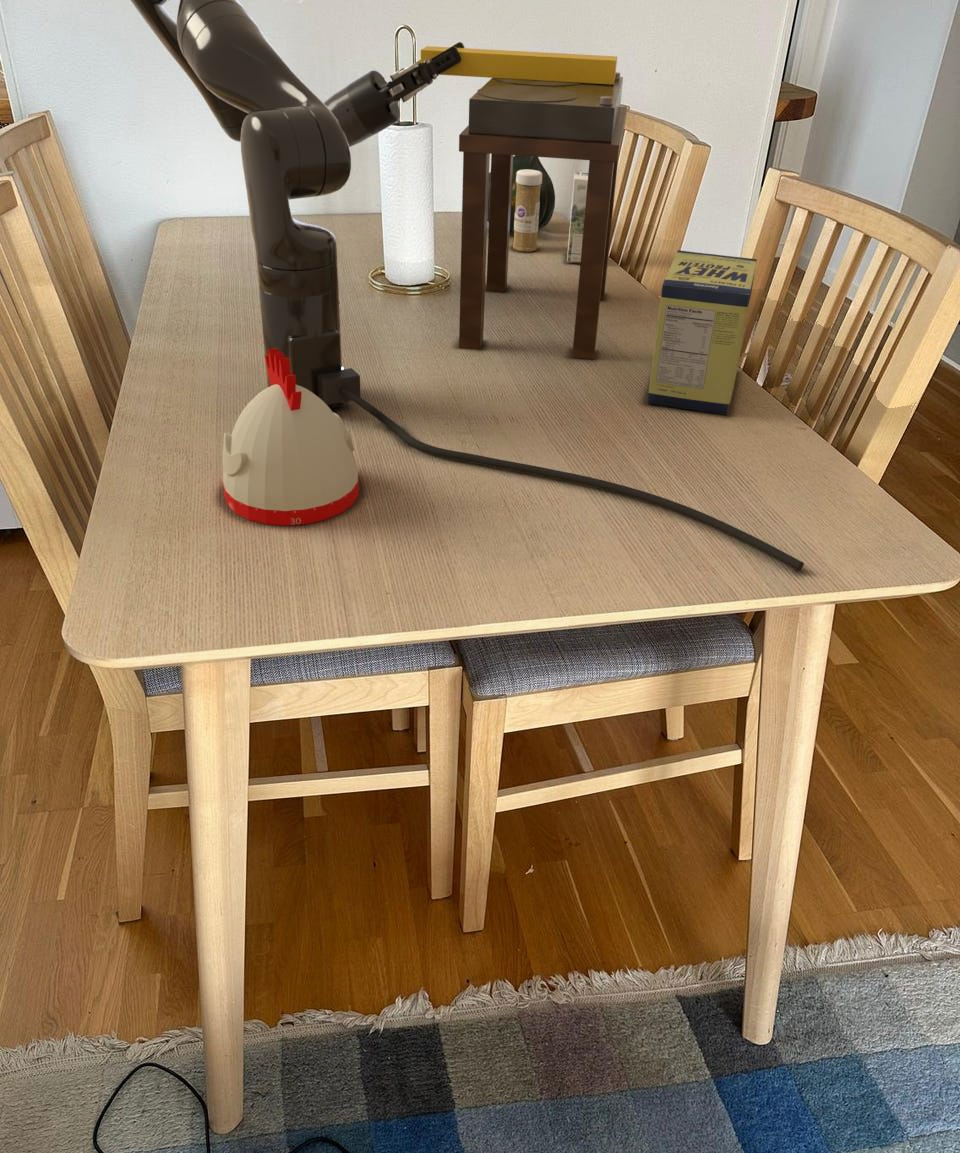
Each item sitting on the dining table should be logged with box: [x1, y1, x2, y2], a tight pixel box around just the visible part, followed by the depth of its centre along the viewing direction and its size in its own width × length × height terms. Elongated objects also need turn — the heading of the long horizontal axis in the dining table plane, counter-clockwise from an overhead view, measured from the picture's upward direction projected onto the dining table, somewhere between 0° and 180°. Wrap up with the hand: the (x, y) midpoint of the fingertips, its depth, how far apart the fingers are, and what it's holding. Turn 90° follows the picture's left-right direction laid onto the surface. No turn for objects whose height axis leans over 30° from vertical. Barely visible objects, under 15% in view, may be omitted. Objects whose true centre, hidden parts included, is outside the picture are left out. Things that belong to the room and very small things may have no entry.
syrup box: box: [566, 171, 589, 265], centre depth 176 cm, size 6×6×14 cm
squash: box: [487, 155, 556, 235], centre depth 192 cm, size 14×15×15 cm
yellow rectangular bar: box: [420, 45, 618, 85], centre depth 141 cm, size 27×4×3 cm, turn 81°
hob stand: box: [458, 71, 628, 360], centre depth 144 cm, size 20×30×33 cm, turn 171°
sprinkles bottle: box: [512, 169, 542, 253], centre depth 181 cm, size 5×5×13 cm
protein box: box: [646, 249, 758, 416], centre depth 129 cm, size 10×16×16 cm
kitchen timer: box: [221, 348, 360, 526], centre depth 102 cm, size 14×14×15 cm
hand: (461, 51), depth 141 cm, fingers closed on yellow rectangular bar, 4 cm apart
